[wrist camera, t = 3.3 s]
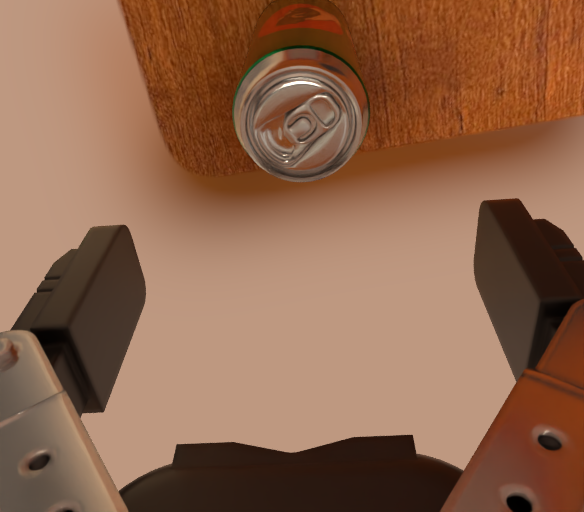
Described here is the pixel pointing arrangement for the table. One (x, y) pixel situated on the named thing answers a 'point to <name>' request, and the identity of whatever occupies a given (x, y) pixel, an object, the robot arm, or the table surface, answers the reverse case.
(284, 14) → the soda can
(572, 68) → the table surface
